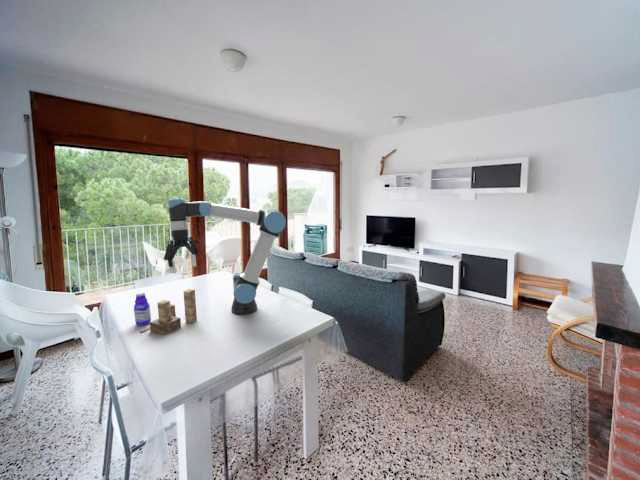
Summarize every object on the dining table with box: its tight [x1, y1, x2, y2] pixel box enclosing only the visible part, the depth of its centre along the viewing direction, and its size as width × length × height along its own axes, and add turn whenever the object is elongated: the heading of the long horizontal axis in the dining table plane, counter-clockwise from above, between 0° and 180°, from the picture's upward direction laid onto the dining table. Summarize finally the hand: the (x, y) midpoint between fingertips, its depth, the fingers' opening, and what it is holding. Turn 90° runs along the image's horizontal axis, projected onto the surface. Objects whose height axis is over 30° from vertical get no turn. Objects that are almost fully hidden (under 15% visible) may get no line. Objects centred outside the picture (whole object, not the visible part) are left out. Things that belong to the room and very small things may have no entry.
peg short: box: [170, 303, 177, 317], centre depth 164 cm, size 4×4×7 cm
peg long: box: [183, 288, 198, 324], centre depth 157 cm, size 4×4×18 cm
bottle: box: [133, 291, 152, 326], centre depth 154 cm, size 7×6×17 cm
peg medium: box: [157, 299, 171, 323], centre depth 148 cm, size 4×4×15 cm
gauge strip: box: [139, 326, 150, 334], centre depth 152 cm, size 15×2×1 cm, turn 158°
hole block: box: [149, 316, 182, 336], centre depth 149 cm, size 10×10×5 cm
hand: (184, 269), depth 149 cm, fingers open, 13 cm apart
